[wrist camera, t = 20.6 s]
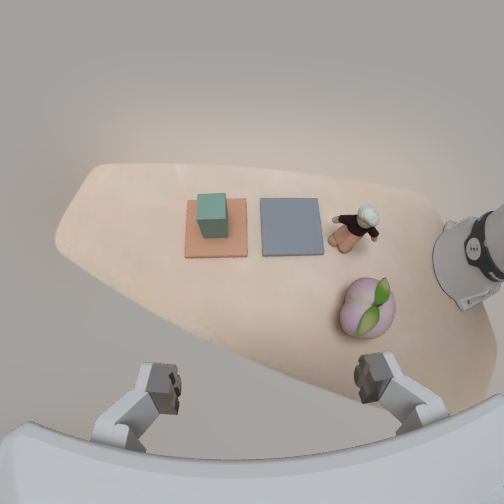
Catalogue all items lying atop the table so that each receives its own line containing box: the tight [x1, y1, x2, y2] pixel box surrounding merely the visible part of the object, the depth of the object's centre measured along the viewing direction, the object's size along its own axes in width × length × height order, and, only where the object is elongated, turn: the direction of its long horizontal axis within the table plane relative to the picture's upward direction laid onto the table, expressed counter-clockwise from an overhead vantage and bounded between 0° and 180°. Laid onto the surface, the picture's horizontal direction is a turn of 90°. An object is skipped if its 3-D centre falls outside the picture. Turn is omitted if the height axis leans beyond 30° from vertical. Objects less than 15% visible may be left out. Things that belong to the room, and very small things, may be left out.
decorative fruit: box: [340, 278, 396, 339], centre depth 38 cm, size 9×8×10 cm
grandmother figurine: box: [328, 204, 379, 252], centre depth 41 cm, size 8×4×13 cm, turn 76°
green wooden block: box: [196, 193, 228, 238], centre depth 42 cm, size 4×4×8 cm
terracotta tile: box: [185, 198, 247, 258], centre depth 46 cm, size 10×10×1 cm
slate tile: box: [260, 198, 324, 256], centre depth 47 cm, size 10×10×1 cm
